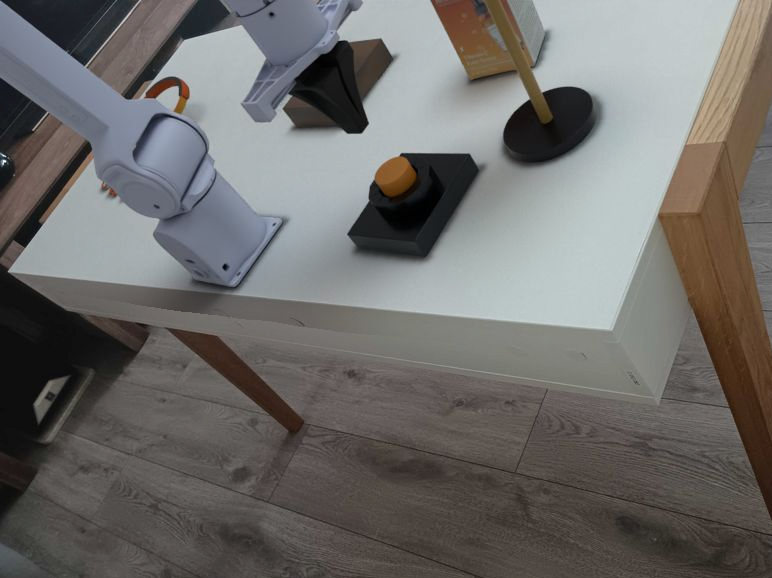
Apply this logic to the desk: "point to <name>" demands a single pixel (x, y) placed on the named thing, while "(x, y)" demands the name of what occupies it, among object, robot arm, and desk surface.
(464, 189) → the switch base
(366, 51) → the dimmer panel
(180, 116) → the robot arm
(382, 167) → the lamp switch
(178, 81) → the headphones
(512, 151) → the desk lamp
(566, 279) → the desk surface
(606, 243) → the desk surface
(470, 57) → the small box
